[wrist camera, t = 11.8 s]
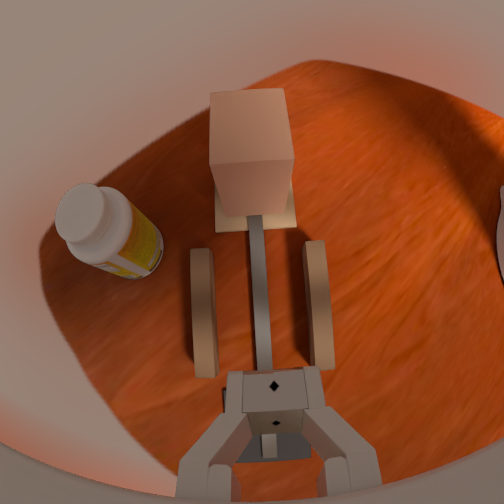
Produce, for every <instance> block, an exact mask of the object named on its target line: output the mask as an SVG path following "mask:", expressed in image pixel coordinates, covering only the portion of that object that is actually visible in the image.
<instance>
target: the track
mask: <svg viewBox="0 0 504 504" xmlns="http://www.w3.org/2000/svg"><path fill="white" fill-rule="evenodd" d="M248 220H249V236H250V253H251V270H252V287H253V303H254V320H255V336H256V353H257V369H258V370H273V368H272V351H271V335H270V319H269V303H268V288H267V274H266V259H265V245H264V232H263V218H262V215H251V216H248ZM302 260H303V270H304V281H305V293H306V306H307V319H308V334H309V350H310V366H316V365H317V366H318V367H319V370H320V371H323V370H331V369H335V358H334V340H333V325H332V312H331V300H330V289H329V279H328V269H327V260H326V251H325V242H324V240H320V241H305V243H304V245H303V247H302ZM190 271H191V306H192V329H193V348H194V363H195V377H196V378H215V377H216V376H217V375H218V374H219V373H220V371H219V355H218V339H217V320H216V299H215V275H214V254H213V253H212V251H211V250H210V249H209V248H196V249H190ZM262 450H263V458H275V457H277V442H276V434H265V435H262Z"/></svg>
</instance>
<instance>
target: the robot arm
mask: <svg viewBox="0 0 504 504" xmlns="http://www.w3.org/2000/svg"><path fill="white" fill-rule="evenodd" d="M500 197H501V212H500V216H499V220H498V225H497V252H498V259H499V264H500V269H501V273H502V276H503V279H504V185H503V186H501V188H500ZM296 432H301V434H302V435H303V436H304V437H305V439H306V440H307V441H308V442H309V444H310V445H311V446H312V447H313V448H314V450H315V451H316V452H317V453H318V455H319V456H320V457H321V458H322V459H323V461H324V462H325V463H324V465H323V467H322V470H321V472H320V474H319V476H318V478H317V492H318V497H317V498H309V499H299V500H287V501H270V502H241V484H240V483H239V481H238V479H237V477H236V476H235V474H234V472H233V470H232V466H233V465H234V464H235V462H236V461H237V459H238V458H239V456H240V455H241V453H242V452H243V450H244V449H245V447H246V446H247V444H248V443H249V441H250V440H251V438H252V435H265V434H279V433H296ZM0 504H504V437H502V438H501V439H499V440H497V441H495V442H493V443H491V444H489V445H487V446H485V447H483V448H481V449H479V450H477V451H475V452H473V453H471V454H469V455H467V456H464V457H462V458H460V459H458V460H455V461H453V462H450V463H448V464H445V465H443V466H440V467H438V468H435V469H432V470H430V471H427V472H424V473H421V474H418V475H415V476H412V477H409V478H406V479H402V480H399V481H395V482H392V483H388V484H384V485H382V480H381V475H380V470H379V465H378V460H377V456H376V451H375V449H374V448H373V447H372V446H371V445H370V444H369V443H368V442H367V441H366V440H365V439H364V438H363V437H362V436H361V435H359V434H358V433H357V432H356V431H355V430H354V429H353V428H352V427H351V426H350V425H349V424H348V423H347V422H346V421H345V420H344V419H343V418H342V417H341V416H340V415H339V414H338V413H337V412H336V411H335V410H334V409H333V408H332V407H331V406H328V407H326V404H325V398H324V392H323V387H322V381H321V375H320V370H319V367H318V366H317V365H316V366H308V367H294V368H284V369H273V370H258V371H229V372H228V375H227V388H226V402H225V413H220V414H219V416H218V417H217V418H216V419H215V421H214V422H213V423H212V424H211V425H210V427H209V428H208V429H207V430H206V431H205V432H204V434H203V435H202V436H201V437H200V438H199V439H198V441H197V442H196V443H195V444H194V445H193V446H192V448H191V449H190V450H189V451H188V452H187V453H186V454H185V455H184V457H183V458H182V459H181V460H180V463H179V470H178V478H177V486H176V494H175V497H168V496H162V495H156V494H150V493H145V492H140V491H134V490H130V489H125V488H121V487H117V486H113V485H109V484H105V483H102V482H98V481H95V480H91V479H88V478H85V477H82V476H79V475H76V474H73V473H70V472H67V471H64V470H62V469H59V468H56V467H53V466H51V465H48V464H46V463H44V462H41V461H39V460H36V459H34V458H32V457H30V456H28V455H25V454H23V453H21V452H19V451H17V450H15V449H13V448H11V447H9V446H7V445H5V444H3V443H1V442H0Z"/></svg>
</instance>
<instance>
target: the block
mask: <svg viewBox="0 0 504 504" xmlns="http://www.w3.org/2000/svg"><path fill="white" fill-rule="evenodd" d="M294 160H295V158H294V151H293V144H292V138H291V132H290V125H289V119H288V113H287V107H286V101H285V96H284V90H283V88H273V89H251V90H237V91H225V92H216V93H210V138H209V166H210V169H211V172H212V175H213V178H214V181H215V184H216V187H217V191H218V194H219V197H220V200H221V203H222V206H223V209H224V212H225V215H226V217H236V216H251V215H266V214H283V213H285V208H286V203H287V197H288V192H289V187H290V182H291V176H292V171H293V166H294Z"/></svg>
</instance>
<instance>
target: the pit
mask: <svg viewBox="0 0 504 504" xmlns="http://www.w3.org/2000/svg"><path fill="white" fill-rule="evenodd" d="M223 392H224V405H225V402H226V390H224V391H223ZM276 442H277V457H275V458H263V450H262V435H252V438H251V440H250V441H249V443H248V444H247V446H246V447H245V449H244V450H243V452H242V453H241V455H240V456H239V458H238V459H237V461H236V462H235V463H247V462H270V461H283V460H294V459H303V458H311V445H310V444H309V442H308V441H307V440H306V439H305V437H304V436H303V435H302V434H301V432H296V433H279V434H276Z"/></svg>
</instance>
